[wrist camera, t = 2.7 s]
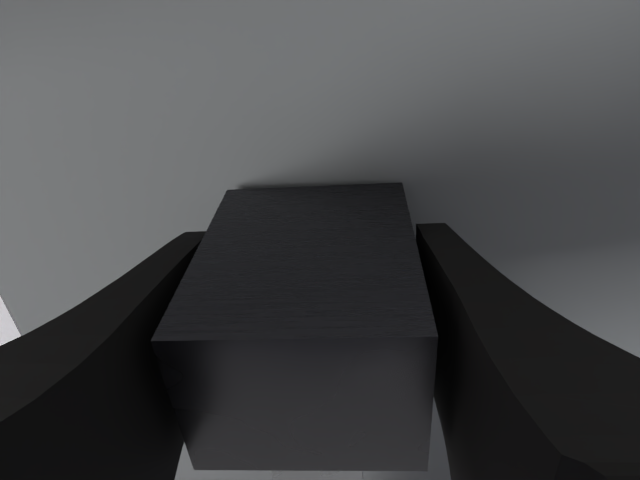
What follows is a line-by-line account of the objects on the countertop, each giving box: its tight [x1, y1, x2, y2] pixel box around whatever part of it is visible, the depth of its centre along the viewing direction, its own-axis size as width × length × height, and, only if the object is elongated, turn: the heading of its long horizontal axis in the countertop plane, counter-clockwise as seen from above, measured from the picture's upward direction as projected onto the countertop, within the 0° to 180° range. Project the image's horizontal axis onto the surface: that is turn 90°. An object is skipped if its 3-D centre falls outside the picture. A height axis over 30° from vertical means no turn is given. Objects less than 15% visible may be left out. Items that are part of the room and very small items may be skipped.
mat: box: [0, 0, 640, 480], centre depth 15 cm, size 18×26×1 cm
